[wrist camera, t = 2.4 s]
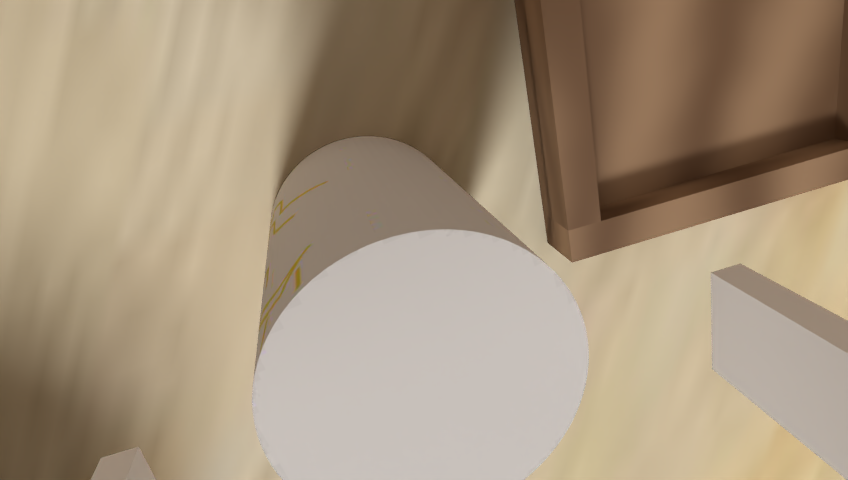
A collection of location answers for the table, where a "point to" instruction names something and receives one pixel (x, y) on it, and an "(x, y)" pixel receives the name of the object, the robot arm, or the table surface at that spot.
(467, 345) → the pale grey cylinder
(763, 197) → the tray
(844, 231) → the table surface
